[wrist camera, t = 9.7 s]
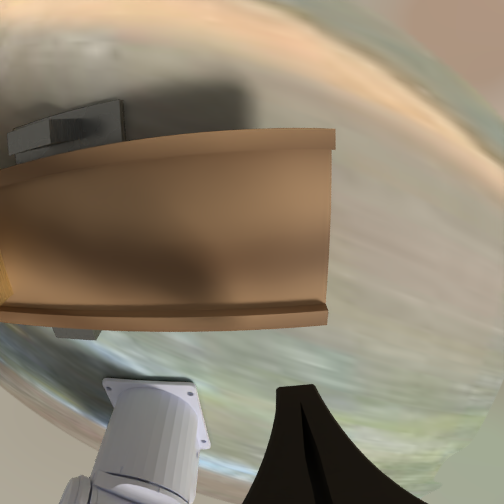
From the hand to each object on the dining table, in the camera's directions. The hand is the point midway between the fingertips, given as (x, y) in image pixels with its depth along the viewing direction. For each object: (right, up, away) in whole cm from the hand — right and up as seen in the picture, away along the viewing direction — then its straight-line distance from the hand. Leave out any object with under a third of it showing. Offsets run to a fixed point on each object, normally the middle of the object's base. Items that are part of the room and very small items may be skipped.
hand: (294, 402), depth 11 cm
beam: (-12, +7, +6) cm, 16 cm away
